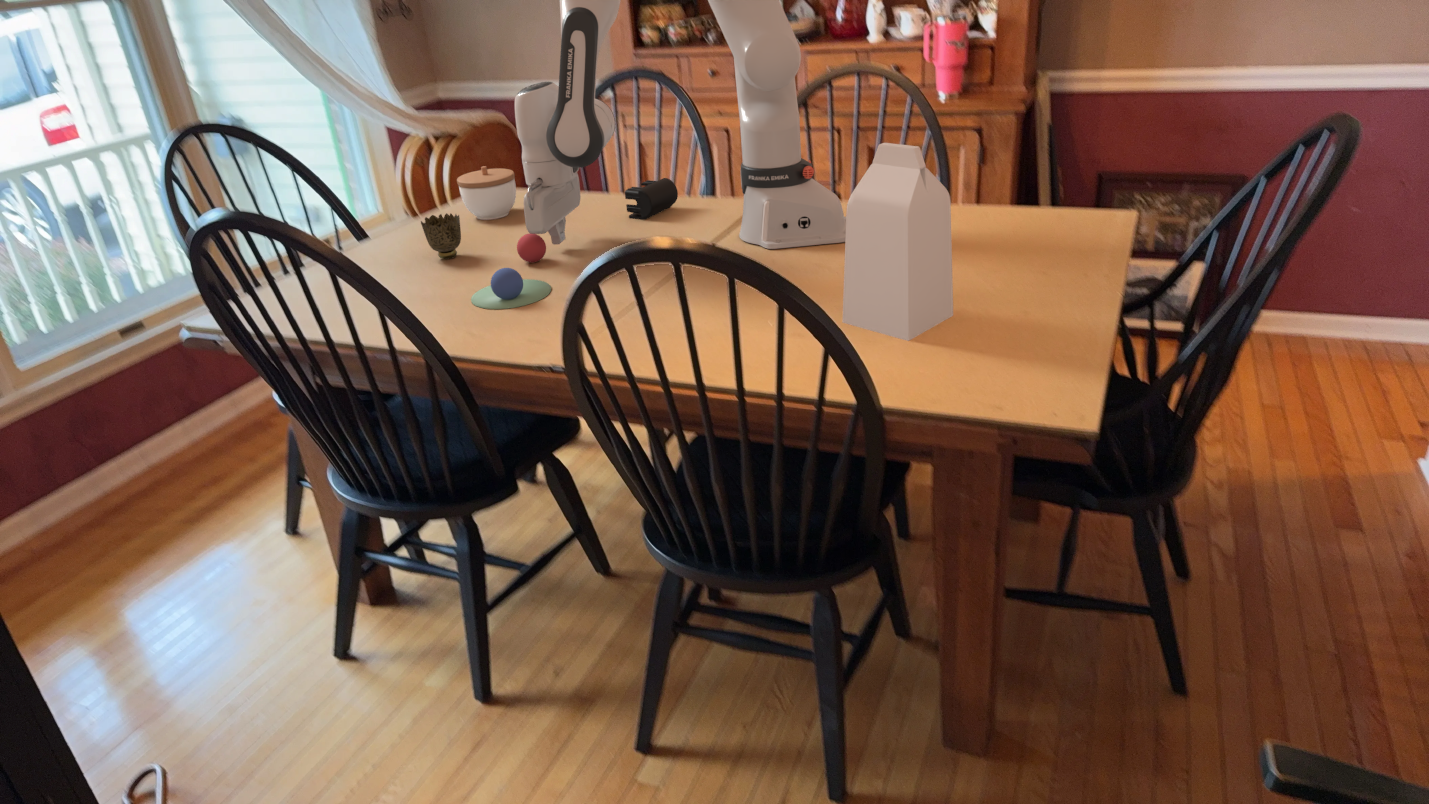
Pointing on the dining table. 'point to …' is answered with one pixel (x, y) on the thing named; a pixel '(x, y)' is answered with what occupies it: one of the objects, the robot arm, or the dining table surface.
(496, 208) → the lidded bowl
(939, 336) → the dining table surface
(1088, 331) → the dining table surface
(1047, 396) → the dining table surface
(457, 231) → the cup
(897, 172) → the milk
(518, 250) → the red rubber ball
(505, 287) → the navy ball
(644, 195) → the end cap
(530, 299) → the pale green ellipsoid
